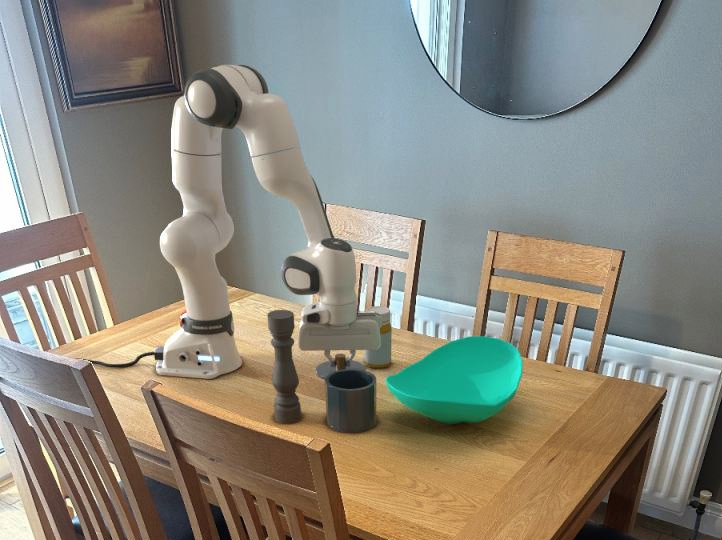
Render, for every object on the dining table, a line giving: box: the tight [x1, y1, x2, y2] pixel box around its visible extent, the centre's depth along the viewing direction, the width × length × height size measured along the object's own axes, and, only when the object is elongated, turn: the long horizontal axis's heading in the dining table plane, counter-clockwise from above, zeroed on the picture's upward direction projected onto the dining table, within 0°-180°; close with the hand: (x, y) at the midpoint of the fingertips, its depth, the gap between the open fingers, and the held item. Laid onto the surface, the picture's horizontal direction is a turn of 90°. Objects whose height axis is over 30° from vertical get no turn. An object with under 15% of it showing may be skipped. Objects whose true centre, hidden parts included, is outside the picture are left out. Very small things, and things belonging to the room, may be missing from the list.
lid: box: [315, 353, 367, 381], centre depth 181 cm, size 13×13×5 cm
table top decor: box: [384, 335, 524, 425], centre depth 170 cm, size 40×28×13 cm
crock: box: [324, 369, 377, 434], centre depth 168 cm, size 12×12×11 cm
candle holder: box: [266, 309, 302, 425], centre depth 165 cm, size 6×6×25 cm
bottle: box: [364, 305, 393, 369], centre depth 194 cm, size 7×7×15 cm
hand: (340, 365), depth 181 cm, fingers closed on lid, 2 cm apart
